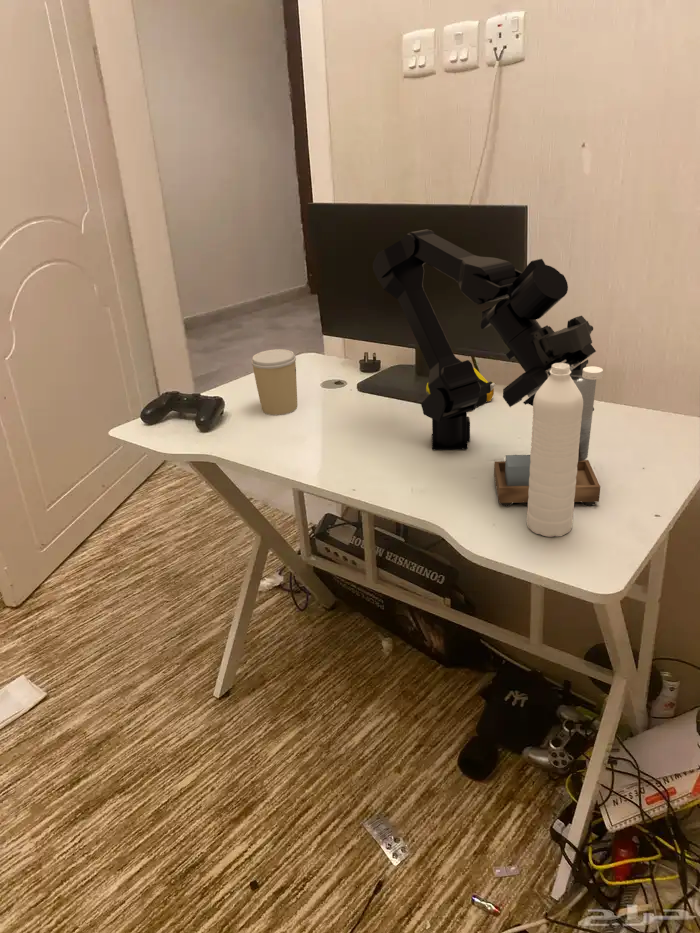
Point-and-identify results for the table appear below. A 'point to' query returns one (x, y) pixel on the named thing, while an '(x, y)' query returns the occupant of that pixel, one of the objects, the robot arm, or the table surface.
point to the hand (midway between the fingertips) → (583, 418)
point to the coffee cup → (276, 381)
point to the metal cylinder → (584, 410)
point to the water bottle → (555, 451)
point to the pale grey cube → (517, 470)
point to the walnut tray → (584, 489)
